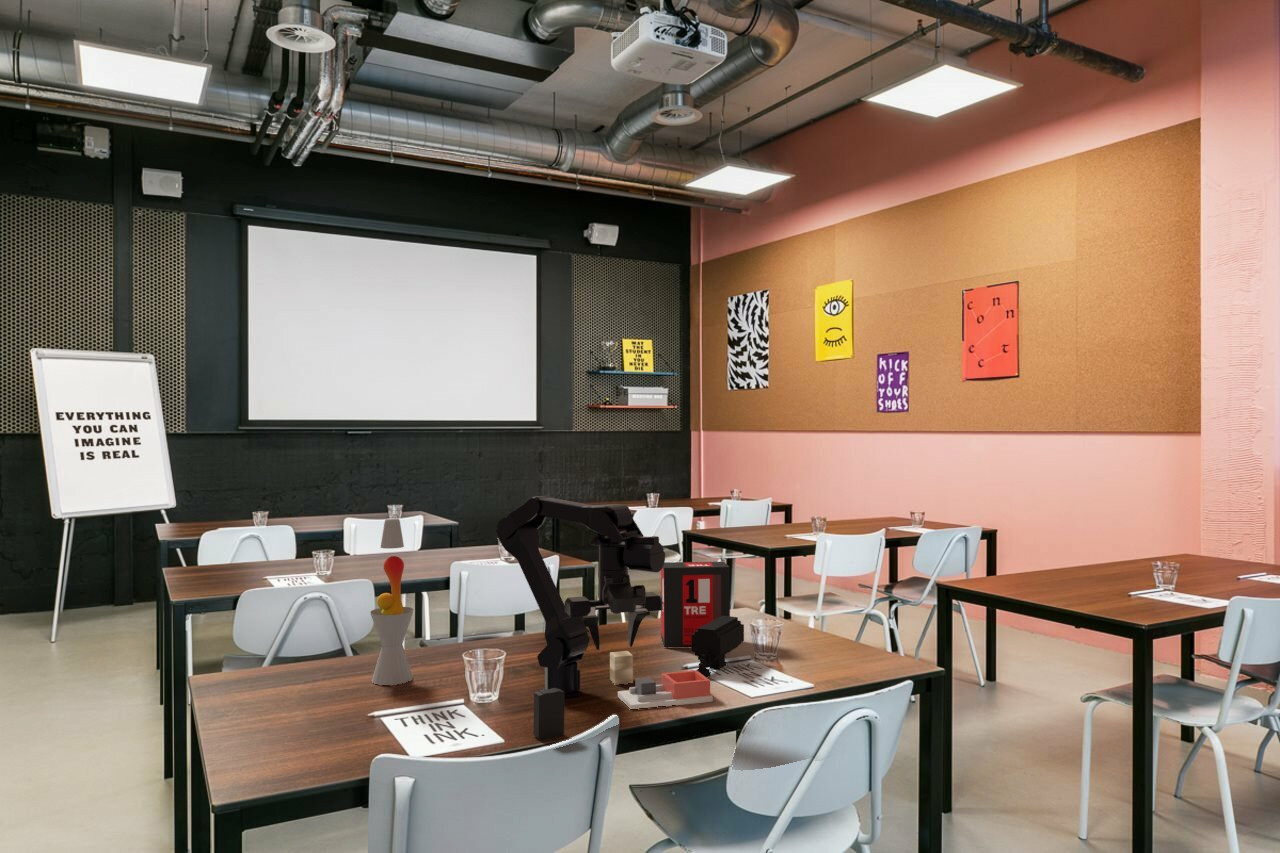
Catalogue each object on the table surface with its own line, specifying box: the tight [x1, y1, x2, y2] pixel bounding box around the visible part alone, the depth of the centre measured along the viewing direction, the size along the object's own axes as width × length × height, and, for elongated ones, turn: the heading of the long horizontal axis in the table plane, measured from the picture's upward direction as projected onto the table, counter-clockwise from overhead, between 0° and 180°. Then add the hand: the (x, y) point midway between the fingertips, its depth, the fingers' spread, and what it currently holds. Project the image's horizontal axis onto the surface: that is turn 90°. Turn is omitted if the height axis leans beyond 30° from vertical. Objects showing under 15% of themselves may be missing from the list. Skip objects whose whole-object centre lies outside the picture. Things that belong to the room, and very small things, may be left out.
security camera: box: [691, 615, 745, 679], centre depth 187 cm, size 7×18×10 cm, turn 152°
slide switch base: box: [617, 669, 714, 710], centre depth 165 cm, size 17×9×4 cm, turn 107°
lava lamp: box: [369, 517, 415, 686], centre depth 179 cm, size 9×9×35 cm
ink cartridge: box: [532, 688, 566, 741], centre depth 145 cm, size 5×2×8 cm, turn 121°
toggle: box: [634, 676, 657, 695], centre depth 164 cm, size 3×4×3 cm
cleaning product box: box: [660, 561, 731, 648], centre depth 210 cm, size 16×9×20 cm, turn 94°
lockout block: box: [609, 650, 634, 686], centre depth 177 cm, size 4×4×6 cm
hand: (614, 647), depth 162 cm, fingers open, 6 cm apart
